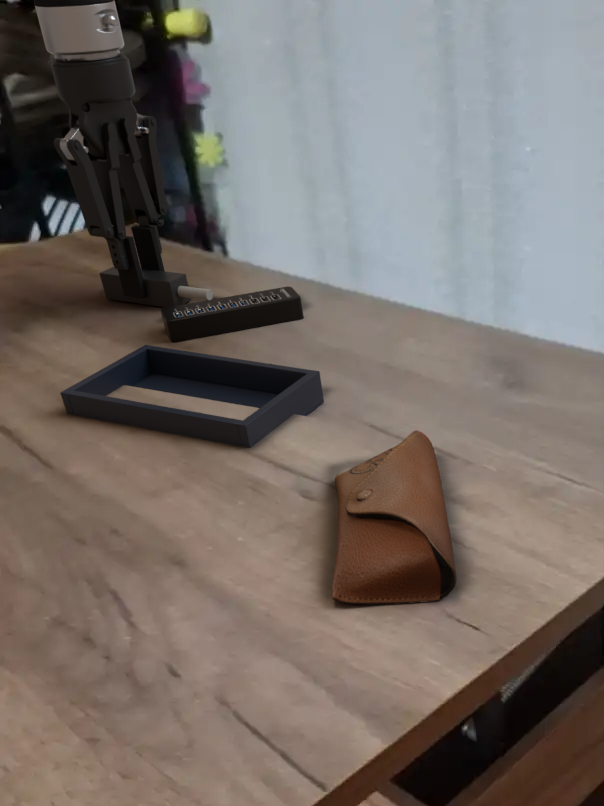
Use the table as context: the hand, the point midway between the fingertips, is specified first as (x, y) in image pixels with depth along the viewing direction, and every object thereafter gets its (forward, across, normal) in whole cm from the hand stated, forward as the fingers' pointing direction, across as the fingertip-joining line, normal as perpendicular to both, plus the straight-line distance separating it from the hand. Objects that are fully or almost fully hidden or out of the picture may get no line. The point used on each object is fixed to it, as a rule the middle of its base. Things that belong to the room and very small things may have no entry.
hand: (146, 290), depth 110 cm
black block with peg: (+1, 0, -2) cm, 2 cm away
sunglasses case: (+1, -35, -50) cm, 61 cm away
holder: (+1, -23, -24) cm, 33 cm away
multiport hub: (+1, -3, -14) cm, 15 cm away
